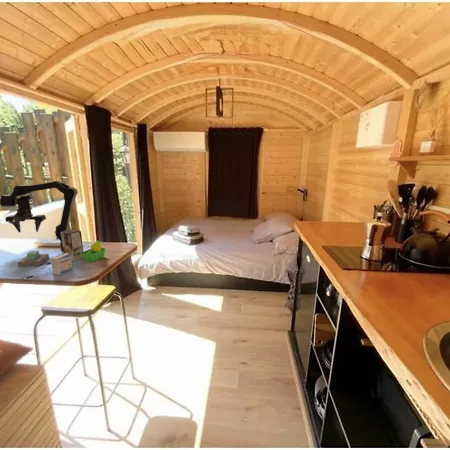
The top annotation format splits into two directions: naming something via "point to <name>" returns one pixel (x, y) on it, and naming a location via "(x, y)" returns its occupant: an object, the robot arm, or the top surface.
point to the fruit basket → (94, 252)
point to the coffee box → (72, 243)
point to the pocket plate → (33, 262)
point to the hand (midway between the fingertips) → (28, 232)
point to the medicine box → (61, 263)
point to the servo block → (33, 255)
